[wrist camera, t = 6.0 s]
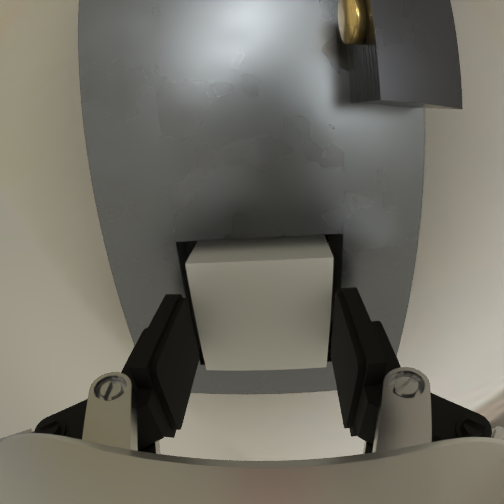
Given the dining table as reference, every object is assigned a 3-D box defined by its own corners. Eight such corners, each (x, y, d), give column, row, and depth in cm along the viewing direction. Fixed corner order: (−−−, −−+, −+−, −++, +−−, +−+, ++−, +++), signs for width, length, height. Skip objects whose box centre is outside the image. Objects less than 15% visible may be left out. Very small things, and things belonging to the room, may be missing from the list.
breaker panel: (375, -40, 9) (424, -102, 3) (375, 346, 17) (404, 430, 11) (112, -16, 10) (40, -60, 4) (165, 353, 18) (134, 434, 12)
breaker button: (320, 227, 13) (333, 257, 11) (318, 324, 15) (326, 367, 13) (201, 233, 14) (185, 264, 11) (216, 328, 16) (206, 370, 13)
